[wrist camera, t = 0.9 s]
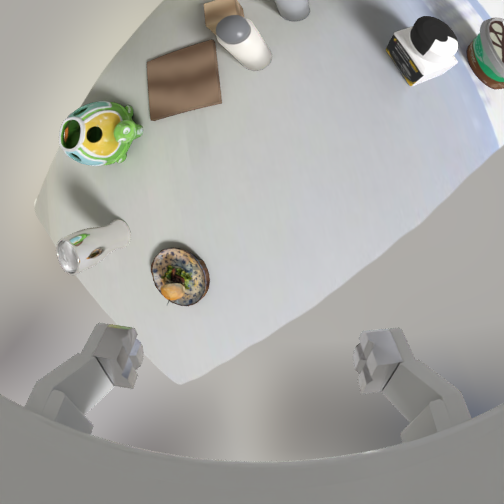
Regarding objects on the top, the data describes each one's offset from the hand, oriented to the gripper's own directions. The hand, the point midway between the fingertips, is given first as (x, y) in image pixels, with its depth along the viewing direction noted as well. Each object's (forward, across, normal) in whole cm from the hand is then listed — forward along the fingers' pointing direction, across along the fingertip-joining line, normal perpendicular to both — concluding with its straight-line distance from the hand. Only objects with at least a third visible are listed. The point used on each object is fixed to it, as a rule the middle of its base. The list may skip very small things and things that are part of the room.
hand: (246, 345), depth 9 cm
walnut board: (+42, +12, -12) cm, 46 cm away
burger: (+36, +14, +23) cm, 45 cm away
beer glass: (+40, +28, +16) cm, 51 cm away
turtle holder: (+44, +26, -4) cm, 51 cm away
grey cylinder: (+40, -6, -25) cm, 48 cm away
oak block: (+43, +4, -23) cm, 49 cm away
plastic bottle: (+40, 0, -15) cm, 43 cm away
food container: (+32, -37, -22) cm, 53 cm away
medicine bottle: (+34, -24, -17) cm, 46 cm away
